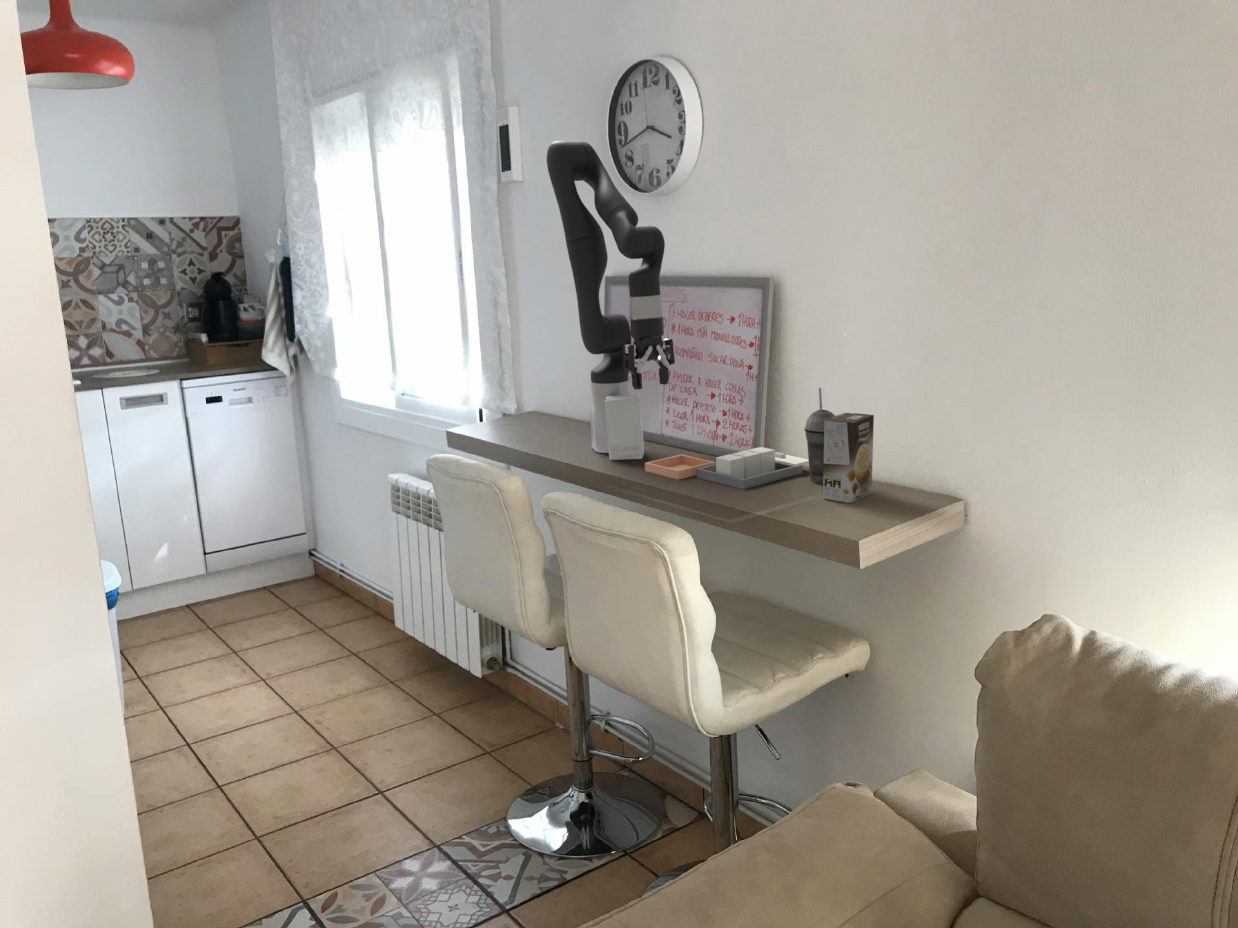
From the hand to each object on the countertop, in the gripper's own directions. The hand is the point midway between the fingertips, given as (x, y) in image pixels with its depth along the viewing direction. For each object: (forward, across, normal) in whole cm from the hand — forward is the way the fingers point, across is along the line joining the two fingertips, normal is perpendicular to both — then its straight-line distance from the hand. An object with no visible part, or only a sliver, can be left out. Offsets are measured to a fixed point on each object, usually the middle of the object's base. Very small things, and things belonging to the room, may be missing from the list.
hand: (651, 386), depth 229 cm
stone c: (+18, -4, +28) cm, 34 cm away
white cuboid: (+18, 0, +28) cm, 33 cm away
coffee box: (+20, -2, +52) cm, 56 cm away
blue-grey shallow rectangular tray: (+19, -2, +28) cm, 34 cm away
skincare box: (+17, +2, -8) cm, 19 cm away
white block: (+18, +5, +27) cm, 33 cm away
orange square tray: (+18, +6, +13) cm, 23 cm away
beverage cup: (+20, -7, +42) cm, 47 cm away
